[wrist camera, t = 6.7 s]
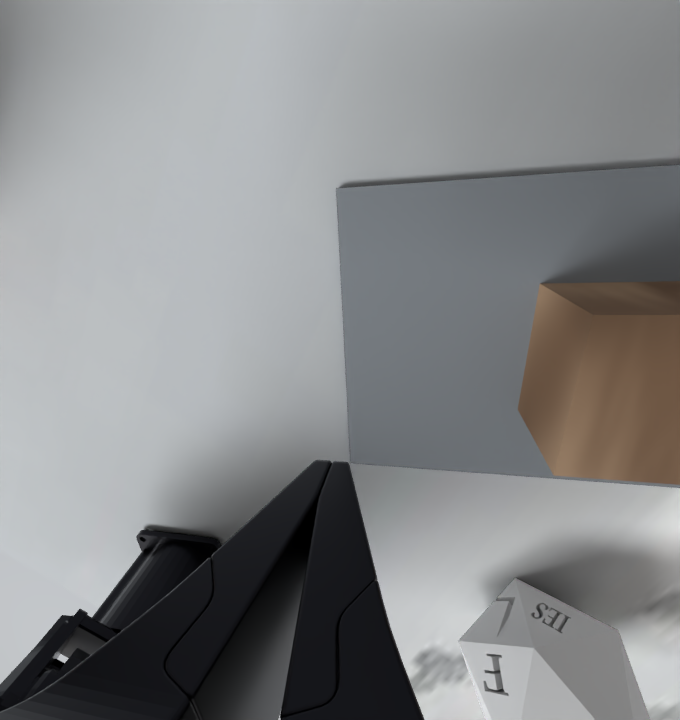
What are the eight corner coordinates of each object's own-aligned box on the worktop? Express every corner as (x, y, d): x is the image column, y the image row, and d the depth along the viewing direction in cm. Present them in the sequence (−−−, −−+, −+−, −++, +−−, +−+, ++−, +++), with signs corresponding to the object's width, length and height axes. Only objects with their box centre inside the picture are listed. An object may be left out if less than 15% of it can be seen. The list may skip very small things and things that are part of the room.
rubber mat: (351, 459, 20) (350, 463, 20) (337, 188, 14) (336, 188, 14) (696, 484, 17) (701, 489, 17) (850, 153, 11) (861, 151, 11)
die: (592, 544, 20) (530, 679, 14) (706, 705, 18) (692, 953, 12) (483, 558, 26) (406, 658, 20) (559, 681, 24) (498, 838, 18)
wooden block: (553, 475, 13) (826, 495, 11) (593, 315, 10) (948, 314, 9) (517, 409, 17) (714, 417, 15) (539, 283, 14) (776, 279, 13)
